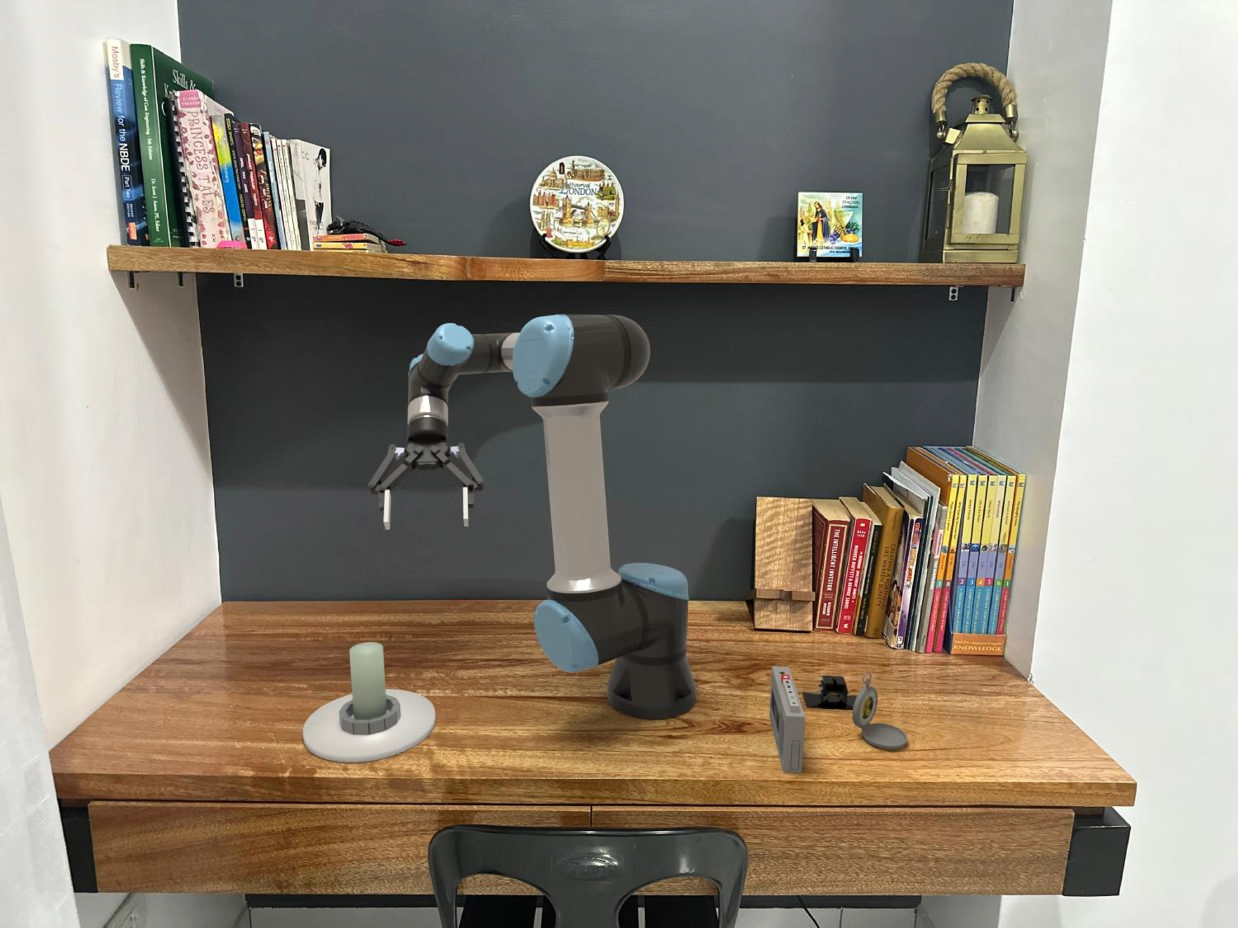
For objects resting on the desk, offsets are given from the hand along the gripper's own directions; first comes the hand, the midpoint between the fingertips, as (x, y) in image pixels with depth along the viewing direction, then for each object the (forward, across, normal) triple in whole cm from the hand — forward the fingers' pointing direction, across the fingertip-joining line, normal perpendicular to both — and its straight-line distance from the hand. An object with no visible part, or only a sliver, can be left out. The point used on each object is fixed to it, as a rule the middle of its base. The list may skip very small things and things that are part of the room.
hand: (426, 524), depth 140 cm
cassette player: (+44, -55, +4) cm, 70 cm away
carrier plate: (+33, +9, -6) cm, 34 cm away
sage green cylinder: (+32, +9, -6) cm, 33 cm away
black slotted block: (+36, -68, -4) cm, 77 cm away
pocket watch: (+44, -70, +5) cm, 83 cm away
